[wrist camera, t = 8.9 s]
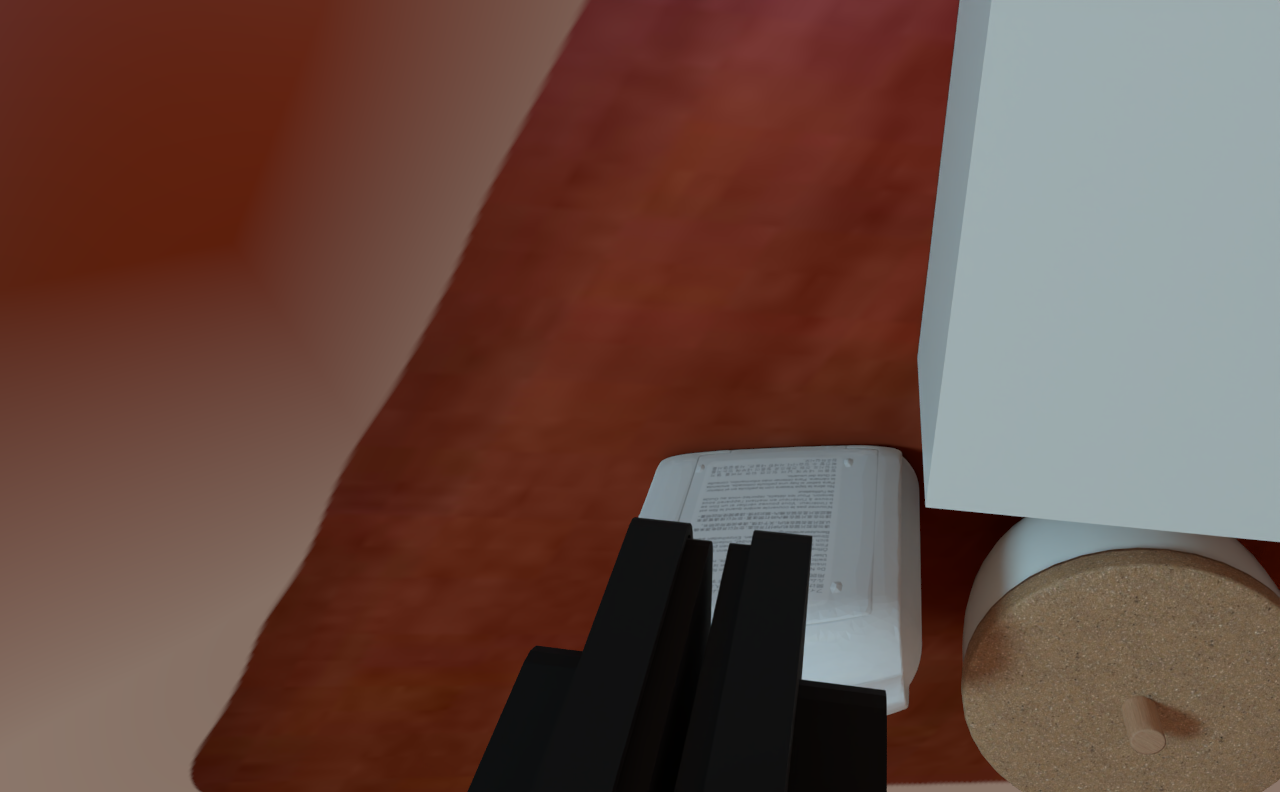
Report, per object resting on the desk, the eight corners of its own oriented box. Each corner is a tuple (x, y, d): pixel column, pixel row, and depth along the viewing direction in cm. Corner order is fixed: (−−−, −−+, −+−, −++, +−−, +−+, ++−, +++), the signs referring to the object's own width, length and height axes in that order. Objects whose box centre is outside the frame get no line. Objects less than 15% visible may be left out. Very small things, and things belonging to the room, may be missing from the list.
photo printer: (663, 538, 46) (592, 760, 35) (645, 446, 44) (565, 650, 33) (922, 530, 43) (933, 766, 32) (915, 432, 41) (924, 647, 31)
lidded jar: (1125, 717, 45) (1177, 915, 37) (896, 591, 45) (898, 764, 36) (1322, 533, 40) (1434, 717, 32) (1066, 388, 39) (1113, 536, 31)
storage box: (1350, -140, 31) (1531, -125, 22) (1217, 380, 38) (1315, 545, 29) (976, -139, 33) (1007, -125, 24) (917, 357, 40) (925, 507, 31)
